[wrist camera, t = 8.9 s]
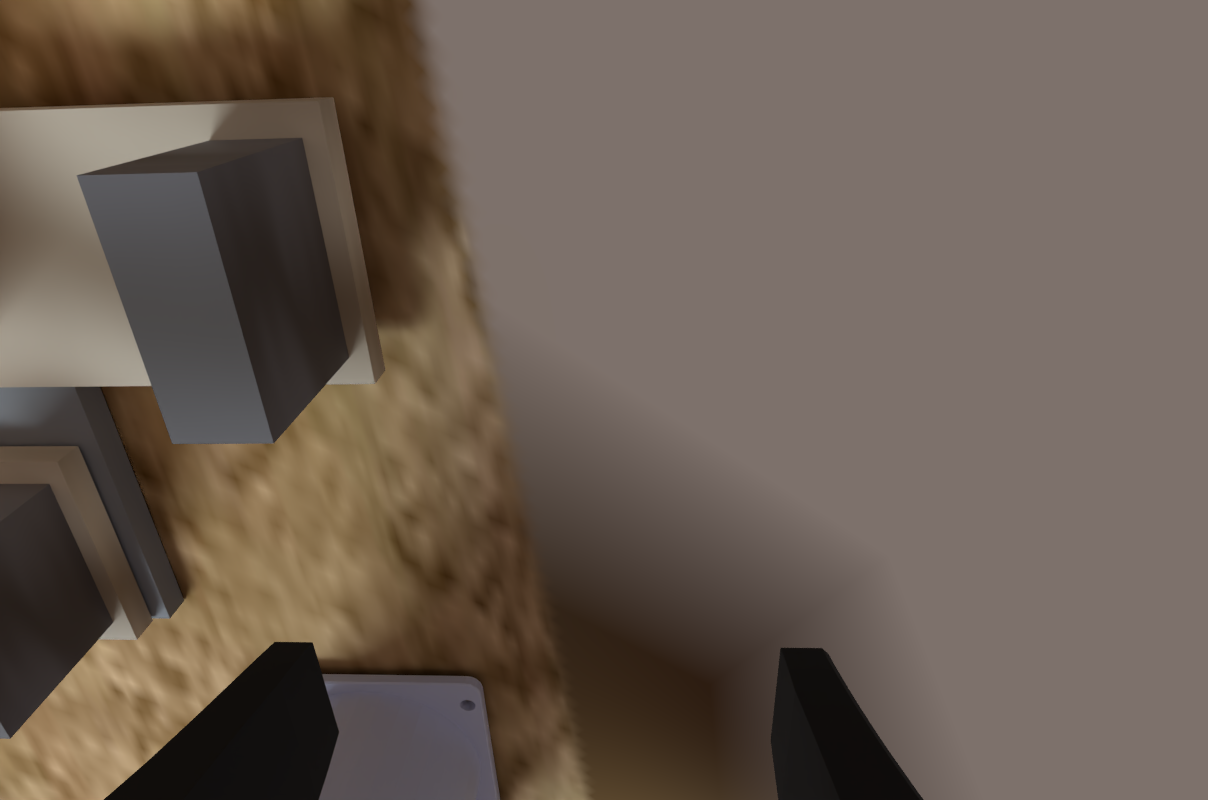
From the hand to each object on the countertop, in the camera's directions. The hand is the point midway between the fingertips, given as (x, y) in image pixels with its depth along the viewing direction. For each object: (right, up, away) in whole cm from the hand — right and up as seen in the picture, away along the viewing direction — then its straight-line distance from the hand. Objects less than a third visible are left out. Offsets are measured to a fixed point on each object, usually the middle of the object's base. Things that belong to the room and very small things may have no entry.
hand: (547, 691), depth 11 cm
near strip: (-13, +8, +6) cm, 16 cm away
